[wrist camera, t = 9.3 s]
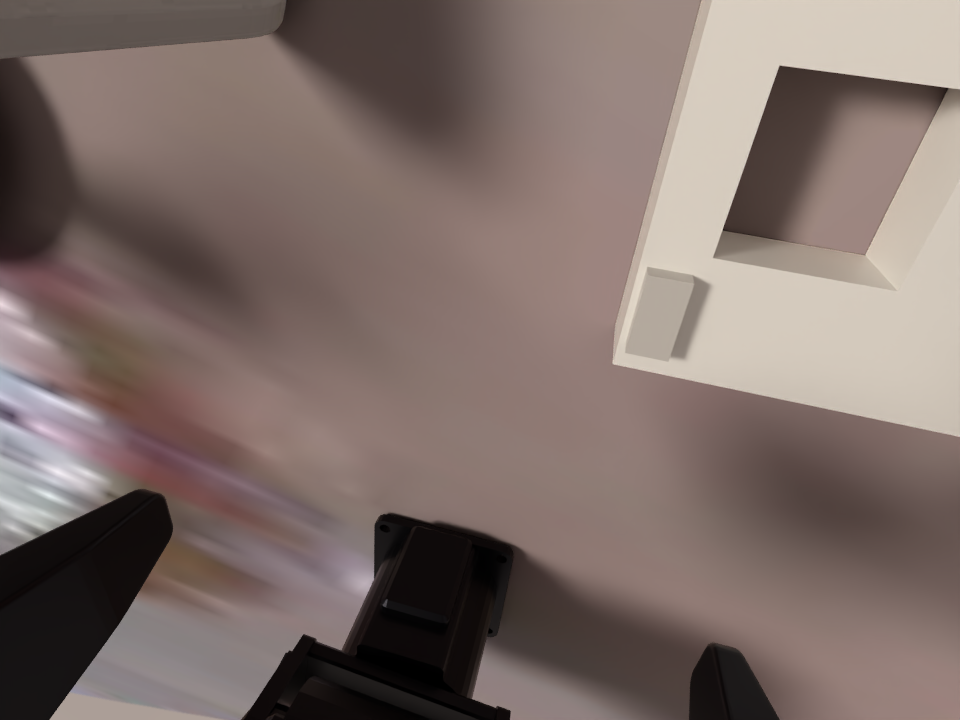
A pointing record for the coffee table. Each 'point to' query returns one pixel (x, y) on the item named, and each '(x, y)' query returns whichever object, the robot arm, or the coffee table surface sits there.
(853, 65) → the socket
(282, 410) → the coffee table surface
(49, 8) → the digital clock
